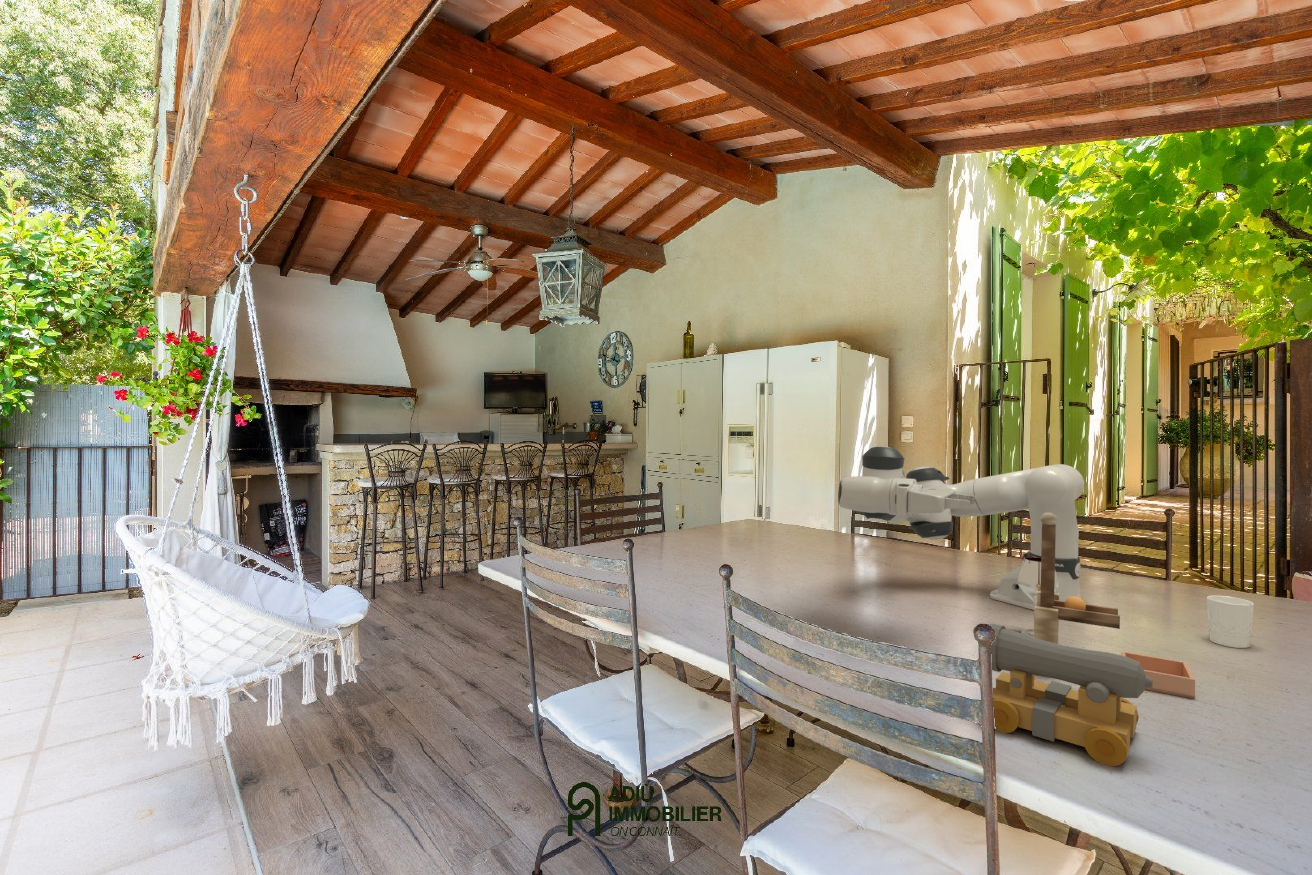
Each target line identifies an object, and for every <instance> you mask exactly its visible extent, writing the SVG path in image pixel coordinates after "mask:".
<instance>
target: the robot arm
mask: <svg viewBox="0 0 1312 875" xmlns="http://www.w3.org/2000/svg"><path fill="white" fill-rule="evenodd" d="M861 457H862V458H861V459H862V460H861V462H862V474H861V475H860V476H859V475H858V476H855V475H854V476H846V477H842V478H841V480H840V482H839V486H838V493H837V498H838V499H837V501H838V504H839V506H840V508H842V509H846V510H849V511H850V510H851V511H855V512H861V514H862V515H863V516H864V517H865V518H866V519H874V520H875V519H876V520H877V519H878V520H883V521H885V522H887V523H891V524H902V523H903V524H904V523H906V522H909V525H910V526H908V529H909V530H913V532H914V533H915V534H916V535H917V536H919V537H920V538H921V539H926V540H930V541H938V540H943V539H945V538H947V537H949V536H951V534H952V533H953V531H954V522H953V521H952V516H954V517H963V518H964V517H965V518H966V517H968V518H969V517H971V518H973V517H982V516H989V515H998V514H1003V513H1005V514H1006V513H1011V512H1018V511H1024V510H1028V512H1029V514H1028V515H1029V519H1030V550H1028V551H1026V553H1023V554H1022V555H1021V556H1020V559H1021V560H1022V561H1023V560H1024V558H1025V557H1039V558H1041V545H1042V522H1041V516H1042V515H1043V514H1044V513H1047V512H1050V513H1053V514H1055V515H1056V516H1057V519H1058V521H1057V524H1056V542H1055V571H1056V574H1057V578H1058V590H1057V591H1056V593H1058V594H1059V600H1060V601H1065V600H1066V599H1067V598H1069V597H1071V596H1076V597H1079V598H1081V599H1082V595H1081V589H1080V580H1079V579H1080V576H1081V558H1080V556H1079V539H1080V538H1079V537H1080V536H1079V535H1080V533H1079V531H1080V530H1079V525H1078V520H1077V512H1076V504H1075V501H1076V500H1077V499H1079V497H1080V496H1081V495H1082V494H1083V492H1084V490H1085V480H1084V478H1083V475H1082V474H1081V473H1080V471H1079V470H1078V469H1076V468H1075V467H1073V466H1070V465H1068V464H1062V463H1058V464H1050V465H1044V466H1040V467H1036V468H1029V469H1024V470H1018V471H1013V472H1011V471H1010V472H1006V473H1000V474H995V475H991V476H985V477H978V478H973V479H969V480H965V481H961V482H958V483H954V484H953V483H952V484H948V483H946V482H945V481H948V480H950V477H949V476H946V475H944V473H943V472H942V470H939V469H937V468H936V467H931V466H919V467H916V468H914V469H912V470H910V471H909V472H908V473H907V474H906V476H905V472H904V470H903V469H904V464H905V457H904V456H903V454H902V453H901V452H900V451H899V450H898V449H896V448H894V447H890V446H883V445H881V446H879V445H878V446H873V447H870V448H869V449H868V450H867V451H865V453H863V455H862V456H861ZM1021 566H1022V564H1021V565H1019V566H1017V567H1016V568H1014V569H1011V570H1010V571H1008V572H1006V573H1005V574H1004V575H1002V577H1001V578H1000V581H999V584H998V588H997V589H994V590H991V592H990V593H989V598H990V599H992V600H996V601H1000V602H1003V603H1007V604H1010V605H1014V606H1018V607H1021V608H1026V609H1029V610H1032V611H1034V607H1035V604H1034V602H1033V601H1032V600H1031V599H1030V598H1029V597H1028V596H1027V595H1026V594H1025V593H1024V592H1023V591H1022V590H1021V589H1020V587H1019V585H1018V576H1019V572H1020V569H1021Z"/></svg>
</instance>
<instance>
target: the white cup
mask: <svg viewBox="0 0 1312 875" xmlns="http://www.w3.org/2000/svg"><path fill="white" fill-rule="evenodd" d="M1206 603H1207V604H1206V605H1207V606H1206V609H1207V612H1206V613H1207V628H1208V638H1209V641H1210V642H1213V644H1217V645H1220V646H1224V647H1229V648H1234V649H1235V648H1236V649H1248V648H1250V644H1251V635H1252V629H1253V628H1252V627H1253V619H1254V608H1255V603H1254V602H1252V601H1251V600H1247V599H1244V598H1239V597H1233V596H1229V595H1228V596H1227V595H1208V596H1207V597H1206Z"/></svg>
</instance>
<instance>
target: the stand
mask: <svg viewBox="0 0 1312 875" xmlns="http://www.w3.org/2000/svg"><path fill="white" fill-rule="evenodd" d="M1040 592H1041V591H1038V592H1037V606H1035V607H1034V610H1033V613H1034V614H1033V630H1034V638H1036V639H1040V640H1044V641H1048V642H1052V643H1056V644H1059V624H1060V622H1059V621H1060V620H1059V619H1058V609H1052V608H1046V607H1040ZM1054 600H1059V594H1058V593H1054Z"/></svg>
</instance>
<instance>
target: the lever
mask: <svg viewBox="0 0 1312 875" xmlns="http://www.w3.org/2000/svg"><path fill="white" fill-rule="evenodd" d="M1057 521H1058V519H1057V516H1056V515H1055V514H1053V513H1050V512H1047V513H1044V514H1043V515H1042V516H1041V522H1042V545H1041V592H1040V607H1046V608H1052V609H1058V619H1059V621H1066V622H1073V623H1078V624H1079V623H1080V624H1086V625H1091V626H1099V627H1103V628H1104V627H1105V628H1110V629H1111V628H1112V629H1119V630H1120V629H1121V628H1120V627H1121V615H1119V608H1116V607H1108V606H1104V605H1103V606H1101V605H1094V604H1087V603H1085V605H1086V609H1085V611H1084V610H1078V609H1071V608H1065V601H1060V600H1054V589H1055V542H1056V524H1057Z"/></svg>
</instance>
